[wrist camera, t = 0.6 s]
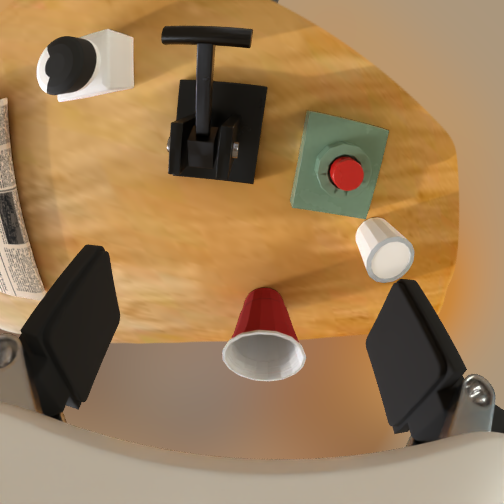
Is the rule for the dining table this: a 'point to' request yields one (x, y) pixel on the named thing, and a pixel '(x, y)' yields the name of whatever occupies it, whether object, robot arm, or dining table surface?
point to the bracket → (220, 131)
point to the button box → (325, 153)
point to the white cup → (384, 250)
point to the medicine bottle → (87, 65)
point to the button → (346, 173)
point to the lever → (205, 82)
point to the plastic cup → (264, 340)
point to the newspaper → (14, 228)
